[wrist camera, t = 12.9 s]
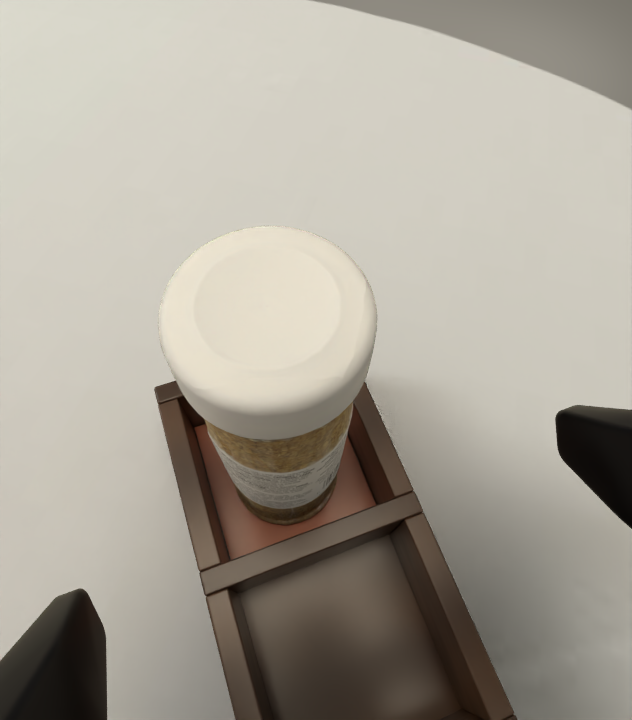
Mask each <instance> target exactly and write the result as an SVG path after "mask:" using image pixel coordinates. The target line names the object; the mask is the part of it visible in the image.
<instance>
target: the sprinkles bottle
mask: <svg viewBox="0 0 632 720" xmlns="http://www.w3.org/2000/svg"><path fill="white" fill-rule="evenodd" d="M158 329H159V337H160V343H161V348H162V351H163V353H164V356H165V358H166V360H167V363H168V365H169V367H170V369H171V372H172V374H173V376H174V378H175V380H176V382H177V384H178V386H179V388H180V390H181V391H182V393H183V395H184V397H185V398H186V400H187V401H188V402H189V404H190V405H191V406H192V407H193V408H194V409H195V411H196V412H197V413H198V414H199V415H200V416H202V417H203V418H204V420H205V422H206V425H207V430H208V434H209V436H210V438H211V440H212V442H213V444H214V446H215V448H216V450H217V452H218V454H219V456H220V458H221V460H222V462H223V464H224V466H225V468H226V470H227V472H228V474H229V476H230V477H231V479H232V481H233V483H234V486H235V488H236V491H237V494H238V496H239V498H240V500H241V501H242V502H243V504H244V505H245V506H246V508H247V509H248V510H249V511H250V512H251V513H252V514H254V515H256V516H258V517H259V518H260V519H262V520H264V521H267V522H270V523H273V524H281V525H290V524H294V523H299V522H302V521H305V520H307V519H309V518H311V517H312V516H314V515H315V514H317V513H318V512H319V511H320V510H321V509H322V508H323V507H324V506H325V505H326V504H327V502H328V500H329V498H330V497H331V496H332V493H333V490H334V488H335V486H336V482H337V471H338V469H339V466H340V462H341V457H342V454H343V450H344V445H345V441H346V437H347V433H348V429H349V425H350V421H351V417H352V411H353V400H354V399H355V397H356V396H357V394H358V393H359V391H360V389H361V387H362V385H363V383H364V381H365V378H366V376H367V373H368V369H369V365H370V361H371V357H372V353H373V348H374V343H375V337H376V331H377V309H376V304H375V299H374V295H373V291H372V289H371V286H370V284H369V282H368V280H367V279H366V277H365V275H364V273H363V271H362V270H361V269H360V268H359V266H358V265H357V264H356V263H355V261H354V260H353V259H352V258H351V257H350V256H349V255H348V254H347V253H345V252H344V251H343V250H342V249H340V248H339V247H338V246H336V245H335V244H333V243H331V242H330V241H328V240H326V239H324V238H322V237H320V236H318V235H315V234H313V233H310V232H307V231H303V230H300V229H295V228H290V227H283V226H259V227H251V228H246V229H241V230H237V231H234V232H231V233H228V234H225V235H222V236H220V237H218V238H216V239H214V240H212V241H210V242H209V243H207V244H205V245H203V246H202V247H200V248H199V249H197V250H196V251H195V252H193V253H192V254H191V255H190V256H189V257H188V258H187V259H186V260H185V261H184V262H183V263H182V264H181V265H180V267H179V268H178V269H177V271H176V272H175V273H174V274H173V276H172V278H171V279H170V281H169V283H168V285H167V287H166V289H165V292H164V294H163V297H162V300H161V304H160V308H159V317H158Z"/></svg>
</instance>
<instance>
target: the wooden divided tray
mask: <svg viewBox="0 0 632 720" xmlns="http://www.w3.org/2000/svg"><path fill="white" fill-rule="evenodd" d="M154 391H155V395H156V399H157V403H158V404H159V405H158V407H159V411H160V415H161V419H162V423H163V428H164V432H165V436H166V440H167V444H168V448H169V452H170V456H171V460H172V464H173V468H174V472H175V476H176V480H177V484H178V488H179V492H180V497H181V501H182V505H183V509H184V513H185V517H186V521H187V525H188V529H189V533H190V537H191V541H192V545H193V549H194V553H195V557H196V561H197V566H198V570H199V571H200V578H201V582H202V586H203V590H204V594H205V596H207V597H206V602H207V606H208V610H209V614H210V618H211V622H212V626H213V630H214V634H215V638H216V642H217V646H218V650H219V654H220V659H221V663H222V667H223V671H224V675H225V679H226V683H227V687H228V691H229V695H230V699H231V703H232V707H233V711H234V715H235V719H236V720H517V718H516V716H515V715H513V714H514V711H513V709H512V707H511V705H510V702H509V700H508V698H507V696H506V694H505V691H504V689H503V687H502V685H501V683H500V680H499V678H498V676H497V674H496V671H495V669H494V667H493V665H492V663H491V660H490V658H489V656H488V654H487V651H486V649H485V647H484V645H483V643H482V640H481V638H480V636H479V634H478V632H477V629H476V627H475V625H474V623H473V620H472V618H471V616H470V614H469V612H468V609H467V607H466V605H465V603H464V601H463V598H462V596H461V594H460V592H459V589H458V587H457V585H456V583H455V581H454V578H453V576H452V574H451V572H450V569H449V567H448V565H447V563H446V561H445V558H444V556H443V554H442V552H441V550H440V547H439V545H438V543H437V541H436V538H435V536H434V534H433V532H432V530H431V527H430V525H429V523H428V521H427V519H426V516H425V514H424V513H422V512H423V509H422V507H421V505H420V503H419V500H418V498H417V496H416V494H415V492H414V491H413V487H412V485H411V483H410V481H409V479H408V476H407V474H406V472H405V470H404V467H403V465H402V463H401V461H400V459H399V456H398V454H397V452H396V450H395V448H394V445H393V443H392V441H391V439H390V436H389V434H388V432H387V430H386V428H385V425H384V423H383V421H382V419H381V417H380V414H379V412H378V410H377V408H376V405H375V403H374V401H373V399H372V397H371V394H370V392H369V390H368V388H367V385H366V383H365V381H364V383H363V385H362V387H361V389H360V391H359V393H358V394H357V396H356V397H355V399H354V400H353V411H352V417H351V421H350V425H349V429H348V433H347V437H346V441H345V445H344V450H343V454H342V457H341V462H340V466H339V469H338V471H337V482H336V486H335V488H334V490H333V493H332V496H331V497H330V498H329V500H328V502H327V504H326V505H325V506H324V507H323V508H322V509H321V510H320V511H319V512H318V513H317V514H315V515H314V516H312V517H311V518H309V519H307V520H305V521H302V522H299V523H294V524H290V525H281V524H273V523H270V522H267V521H264V520H262V519H260V518H259V517H258V516H256V515H254V514H252V513H251V512H250V511H249V510H248V509H247V508H246V506H245V505H244V504H243V502H242V501H241V500H240V498H239V496H238V494H237V491H236V488H235V486H234V483H233V481H232V479H231V477H230V476H229V474H228V472H227V470H226V468H225V466H224V464H223V462H222V460H221V458H220V456H219V454H218V452H217V450H216V448H215V446H214V444H213V442H212V440H211V438H210V436H209V434H208V430H207V425H206V422H205V420H204V418H203V417H202V416H200V415H199V414H198V413H197V412H196V411H195V409H194V408H193V407H192V406H191V405H190V404H189V402H188V401H187V400H186V398H185V397H184V395H183V393H182V391H181V390H180V388H179V386H178V384H177V382H176V381H173V382H170V383H167V384H164V385H160V386H157V387H155V389H154Z"/></svg>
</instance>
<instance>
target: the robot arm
mask: <svg viewBox="0 0 632 720" xmlns="http://www.w3.org/2000/svg"><path fill="white" fill-rule="evenodd" d="M555 421H556V433H557V446H558V451H559V454H560V456H561V458H562V459H563V461H564V462H565V463H566V464H567V465H568V466H569V467H570V468H571V469H572V470H573V471H574V472H575V473H576V474H577V475H578V476H579V477H580V478H581V479H582V480H583V481H584V483H585V484H586V485H587V486H588V487H589V488H590V489H591V490H592V491H593V492H594V493H595V494H596V495H597V496H598V497H599V498H600V499H601V500H602V501H603V502H604V503H605V504H606V505H607V506H608V507H609V508H610V509H611V510H612V511H613V512H614V513H615V514H616V515H617V516H618V517H619V518H620V519H621V520H622V521H624V522H625V523H626V524H627V525H628V526H629V527H630V528H631V529H632V410H626V409H615V408H604V407H593V406H583V405H575V406H572V407H569V408H566V409H564V410H561V411H559V412H558V413H557V415H556V419H555ZM0 720H107V672H106V635H105V630H104V627H103V624H102V622H101V620H100V618H99V616H98V614H97V612H96V610H95V608H94V606H93V603H92V601H91V599H90V597H89V595H88V594H87V592H86V591H85V590H83V589H77V590H74V591H71V592H68V593H66V594H63V595H60V596H58V597H56V598H55V599H54V600H53V601H52V602H51V604H50V605H49V606H48V607H47V608H46V609H45V610H44V612H43V613H42V614H41V615H40V616H39V617H38V618H37V620H36V621H35V622H34V623H33V624H32V625H31V626H30V628H29V629H28V630H27V631H26V632H25V633H24V634H23V636H22V637H21V638H20V639H19V640H18V641H17V642H16V644H15V645H14V646H13V647H12V648H11V649H10V650H9V652H8V653H7V654H6V655H5V656H4V657H3V658H2V660H1V661H0Z"/></svg>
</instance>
